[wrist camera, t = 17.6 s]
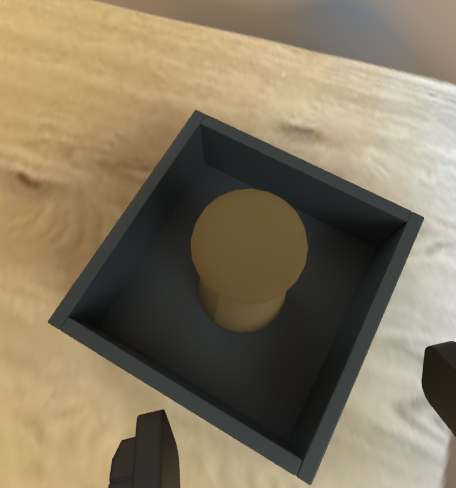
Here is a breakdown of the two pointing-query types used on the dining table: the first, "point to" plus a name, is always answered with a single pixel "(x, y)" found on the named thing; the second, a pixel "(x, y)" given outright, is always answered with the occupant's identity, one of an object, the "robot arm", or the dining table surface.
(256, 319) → the cork
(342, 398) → the bin
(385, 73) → the dining table surface
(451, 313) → the dining table surface
